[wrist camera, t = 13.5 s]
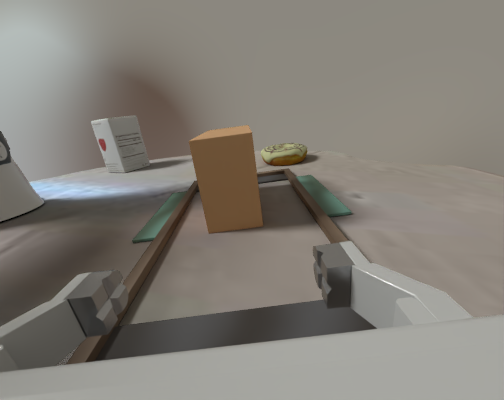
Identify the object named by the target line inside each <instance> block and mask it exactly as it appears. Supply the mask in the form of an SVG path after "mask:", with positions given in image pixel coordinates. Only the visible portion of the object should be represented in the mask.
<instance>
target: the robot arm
mask: <svg viewBox="0 0 504 400" xmlns="http://www.w3.org/2000/svg"><path fill="white" fill-rule="evenodd" d="M9 150H10V148H9V146H8V144H7V140H6V138H4V136H3V134H2V132H1V131H0V221H4V220H7V219H10V218H12V217H15V216H18V215H21V214H23V213H26V212H28V211H31V210H33V209H35V208H37V207H39V206H40V205H42V204H43V203H44V200H43V199H42V198H41V197H40V196H39V195H38V194H37V193H36V192H35V190H34V189H33V188H32V186H31V185H30V183H29V182H28V180H27V179H26V177H25V176H24V174H23V173H22V171H21V170H20V168H19V167H18V166H17V164H16V163H15V162H14V160H13V159H12V157H11V156H10V151H9ZM313 256H314V258H315V260H316V261H315V263H314V274H315V279H316V283H317V285H318V287H319V288H320V289H322V297H323V299H324V302H325V304H326V306H327V309H330V308H341V307H350V308H351V309H353V310H354V311H355V312H357V313H358V314H359V315H360V316H362V317H363V318H364V319H366V320H367V321H368V322H369V323H371V324H372V325H373V326H375V327H376V328H377V329H372V330H364V331H355V332H346V333H338V334H329V335H320V336H312V337H303V338H294V339H286V340H277V341H268V342H260V343H251V344H242V345H233V346H225V347H216V348H207V349H199V350H190V351H181V352H172V353H163V354H154V355H146V356H137V357H128V358H120V359H111V360H102V361H94V362H85V363H76V364H68V365H59V366H56V365H57V364H58V363H59V362H60V361H61V360H63V359H64V358H65V357H66V356H67V355H68V354H69V353H71V352H72V351H73V350H74V349H75V348H76V347H77V346H79V345H80V344H81V343H82V342H83V341H84V340H85V339H86V337H93V336H100V335H107V334H109V333H110V331H111V330H112V328H113V327H114V325H115V323H116V322H117V320H118V318H117V315H118V314H119V313H121V312H122V311H123V310H124V309H125V307H126V305H127V302H128V291H127V288H126V286H124V285H123V284H122V283H121V281H122V279H123V277H122V275H121V273H120V271H118V270H109V271H99V272H89V273H82V274H79V275H77V276H76V277H75V278H74V279H73V280H72V281H70V282H69V283H68V284H67V285H66V286H65V287H64V288H63V289H62V290H61V291H60V292H59V293H58V294H57V295H56V296H55V297H54V298H53V299H52V300H50V301H49V302H45V303H43V304H41V305H39V306H37V307H35V308H34V309H32V310H30V311H28V312H26V313H24V314H22V315H21V316H19V317H17V318H15V319H13V320H11V321H10V322H8V323H6V324H4V325H2V326H0V400H504V314H502V315H494V316H485V317H476V318H473V317H472V316H471V315H470V314H469V313H468V312H467V311H465V310H464V309H463V308H462V307H461V306H460V305H459V304H458V303H457V302H455V301H454V300H453V299H452V298H451V297H450V296H449V295H448V294H446V293H445V292H443V291H441V290H438V289H436V288H433V287H431V286H429V285H426V284H424V283H421V282H419V281H417V280H414V279H412V278H409V277H407V276H405V275H402V274H400V273H397V272H395V271H392V270H390V269H388V268H385V267H383V266H380V265H378V264H376V263H370V262H369V261H368V260H367V259H366V258H365V256H364V255H363V254H362V253H361V252H360V251H359V249H358V248H357V247H356V246H355V245H354V244H353V242H351V241H345V242H339V243H333V244H326V245H319V246H313Z"/></svg>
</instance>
